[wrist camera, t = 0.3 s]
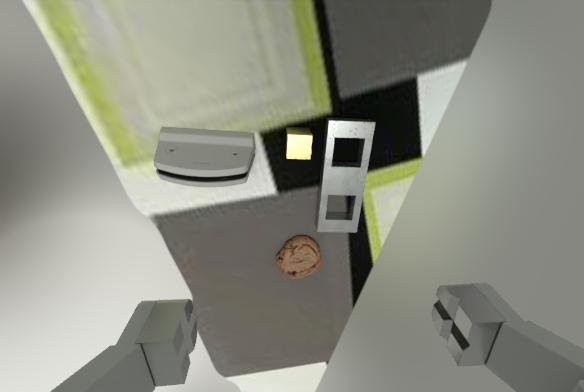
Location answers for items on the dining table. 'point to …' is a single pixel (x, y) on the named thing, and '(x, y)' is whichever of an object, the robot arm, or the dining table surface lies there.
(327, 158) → the grey shape sorter tray
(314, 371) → the dining table surface
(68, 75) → the dining table surface
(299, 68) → the dining table surface
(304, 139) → the wood grain block
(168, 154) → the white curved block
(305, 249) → the cookie
